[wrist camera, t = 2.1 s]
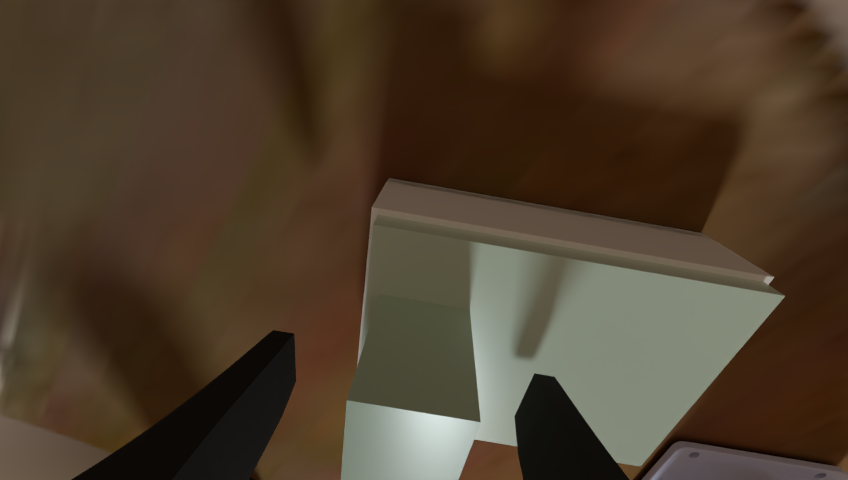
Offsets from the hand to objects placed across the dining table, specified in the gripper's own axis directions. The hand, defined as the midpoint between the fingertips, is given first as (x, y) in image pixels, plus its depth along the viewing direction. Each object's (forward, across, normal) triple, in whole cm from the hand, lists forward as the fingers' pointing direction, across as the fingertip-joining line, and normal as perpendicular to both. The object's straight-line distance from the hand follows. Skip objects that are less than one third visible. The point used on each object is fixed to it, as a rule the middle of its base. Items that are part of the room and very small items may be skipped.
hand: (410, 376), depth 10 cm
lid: (+2, -4, 0) cm, 4 cm away
